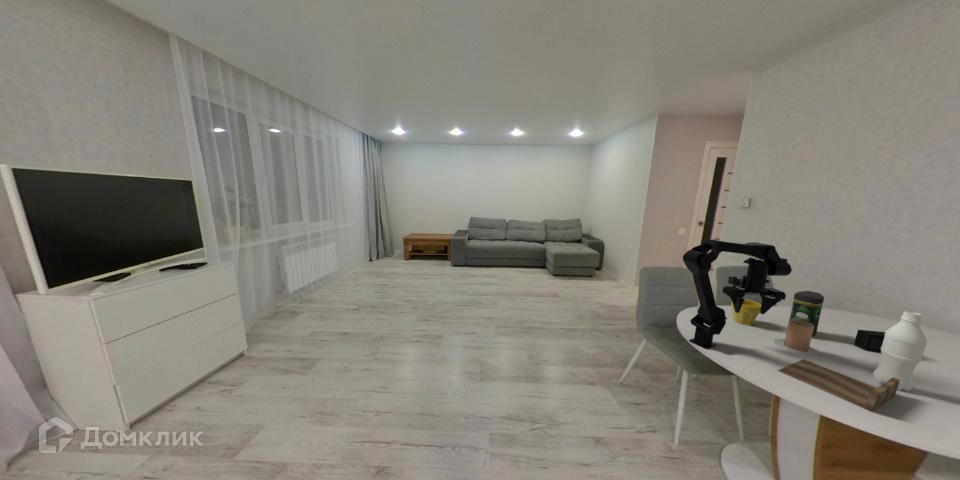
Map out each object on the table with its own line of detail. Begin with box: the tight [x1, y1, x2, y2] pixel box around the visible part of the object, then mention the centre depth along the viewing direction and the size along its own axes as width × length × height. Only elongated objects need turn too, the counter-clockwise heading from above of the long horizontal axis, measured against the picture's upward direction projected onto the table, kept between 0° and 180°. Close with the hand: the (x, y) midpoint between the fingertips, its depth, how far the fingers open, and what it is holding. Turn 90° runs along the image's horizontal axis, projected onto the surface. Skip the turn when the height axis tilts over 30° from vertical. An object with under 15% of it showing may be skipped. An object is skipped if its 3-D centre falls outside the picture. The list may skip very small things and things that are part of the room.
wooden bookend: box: [777, 358, 900, 413], centre depth 88 cm, size 18×19×6 cm
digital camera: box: [853, 329, 886, 353], centre depth 109 cm, size 10×5×7 cm, turn 78°
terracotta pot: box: [784, 318, 814, 352], centre depth 108 cm, size 6×6×10 cm
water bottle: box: [872, 310, 928, 392], centre depth 86 cm, size 7×7×25 cm
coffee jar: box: [788, 290, 825, 337], centre depth 121 cm, size 10×8×19 cm
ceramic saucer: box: [773, 338, 821, 357], centre depth 109 cm, size 12×12×1 cm
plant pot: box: [730, 298, 761, 326], centre depth 131 cm, size 10×10×10 cm
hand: (749, 313), depth 110 cm, fingers open, 9 cm apart
